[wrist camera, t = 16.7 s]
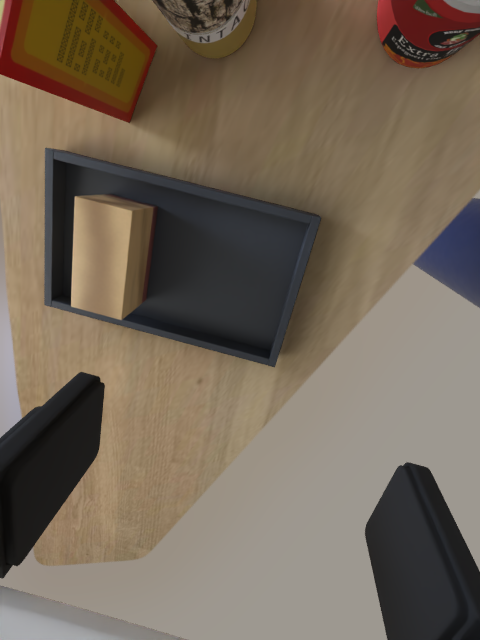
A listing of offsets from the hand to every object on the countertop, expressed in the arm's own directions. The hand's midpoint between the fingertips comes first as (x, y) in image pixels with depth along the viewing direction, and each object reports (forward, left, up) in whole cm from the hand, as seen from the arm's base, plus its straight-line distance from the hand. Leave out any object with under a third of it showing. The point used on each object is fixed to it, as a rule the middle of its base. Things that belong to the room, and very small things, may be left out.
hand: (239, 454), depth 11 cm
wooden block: (+15, +2, -26) cm, 30 cm away
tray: (+10, +2, -26) cm, 28 cm away
